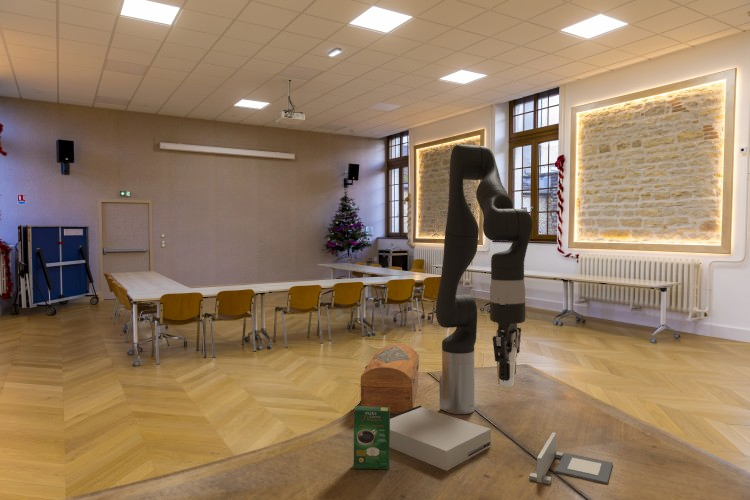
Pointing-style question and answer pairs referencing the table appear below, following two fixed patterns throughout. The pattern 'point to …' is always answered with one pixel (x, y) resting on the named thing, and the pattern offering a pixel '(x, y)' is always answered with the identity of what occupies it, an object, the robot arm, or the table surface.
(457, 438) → the disc drive
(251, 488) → the table surface
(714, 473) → the table surface
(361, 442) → the coffee box
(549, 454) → the divider wall
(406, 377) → the wooden box
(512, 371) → the milkshake
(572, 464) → the mat
